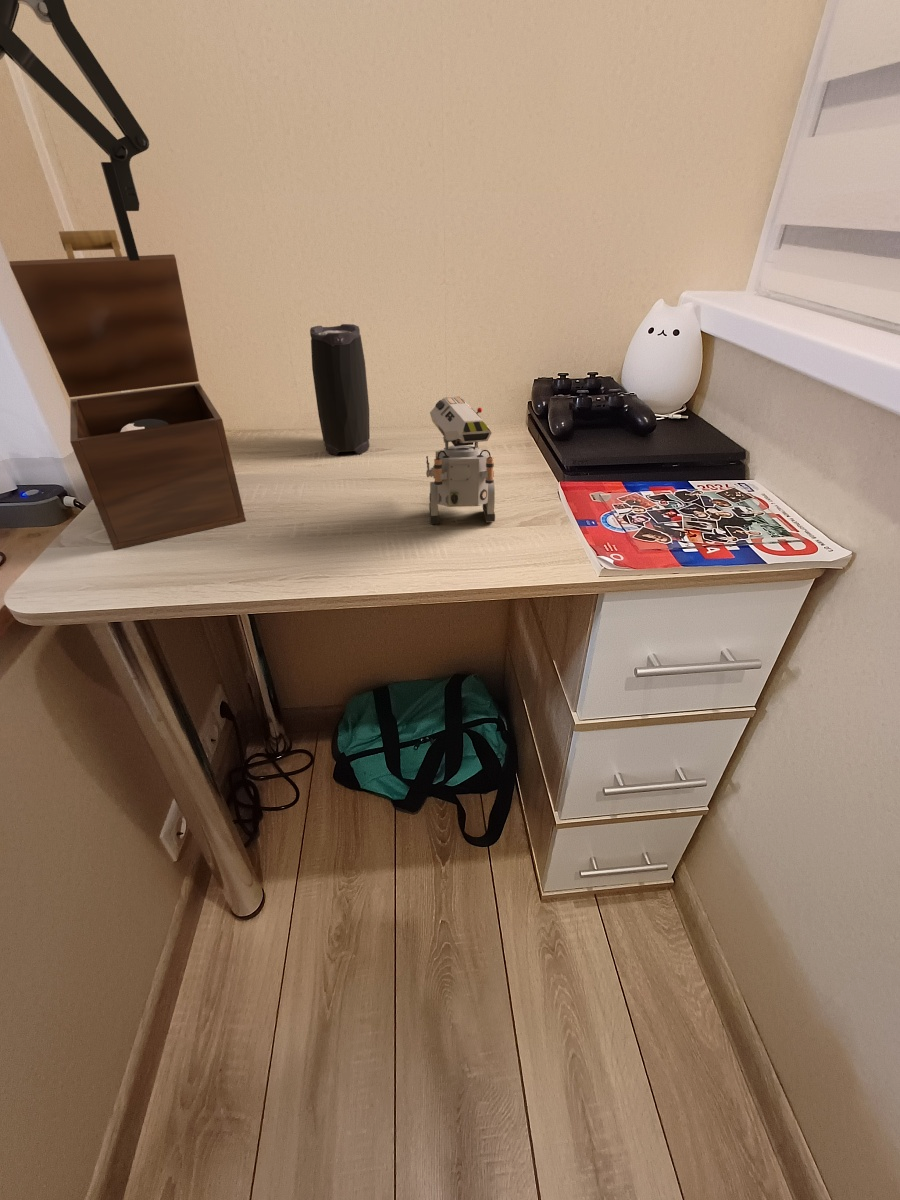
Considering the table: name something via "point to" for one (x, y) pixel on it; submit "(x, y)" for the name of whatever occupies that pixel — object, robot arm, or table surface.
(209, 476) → the chest
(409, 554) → the table surface
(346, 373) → the portable speaker
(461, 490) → the figurine
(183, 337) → the chest lid
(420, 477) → the table surface
